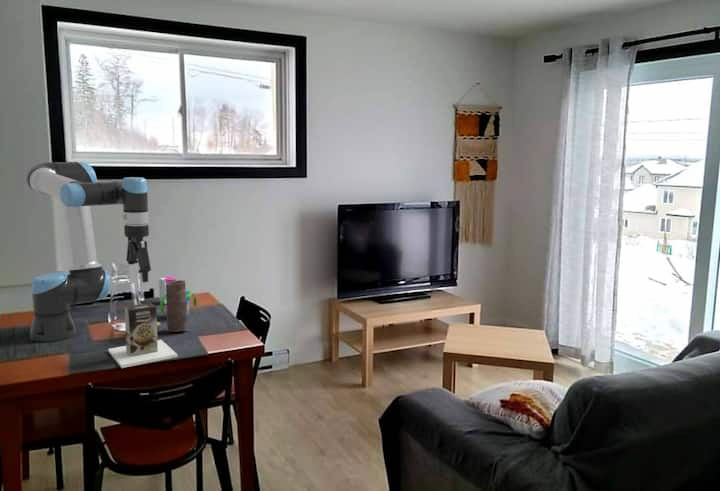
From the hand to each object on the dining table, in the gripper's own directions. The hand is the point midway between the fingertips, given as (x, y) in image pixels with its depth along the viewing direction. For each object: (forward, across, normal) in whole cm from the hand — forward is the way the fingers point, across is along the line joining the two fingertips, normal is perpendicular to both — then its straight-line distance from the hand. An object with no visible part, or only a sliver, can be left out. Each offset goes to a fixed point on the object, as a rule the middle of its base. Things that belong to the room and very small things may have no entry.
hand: (139, 286), depth 189 cm
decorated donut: (+24, -24, +8) cm, 35 cm away
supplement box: (+24, -61, +28) cm, 71 cm away
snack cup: (+24, -37, +25) cm, 51 cm away
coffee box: (+23, 0, 0) cm, 23 cm away
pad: (+24, 0, 0) cm, 24 cm away
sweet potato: (+24, -18, +18) cm, 35 cm away
